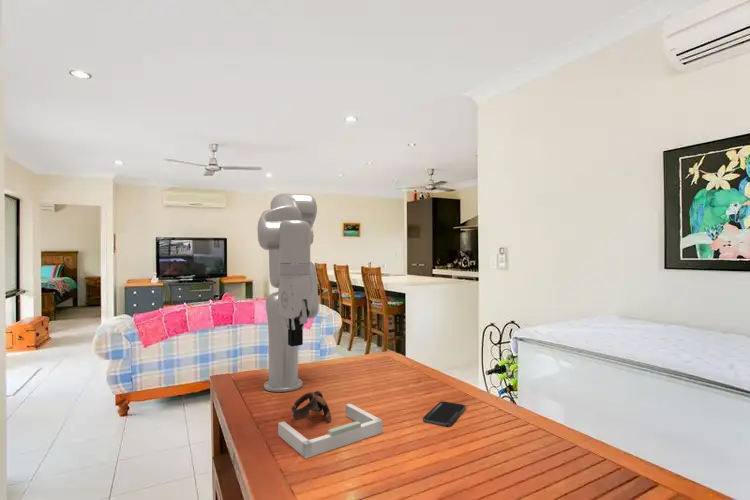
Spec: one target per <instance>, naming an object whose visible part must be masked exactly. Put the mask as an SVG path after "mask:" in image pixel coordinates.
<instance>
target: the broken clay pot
mask: <svg viewBox="0 0 750 500" xmlns="http://www.w3.org/2000/svg"><path fill="white" fill-rule="evenodd" d="M305 401H309V402H308V403H306V405H305V404H304V406H302V407H300V406H301V404H303V403H304V402H305ZM299 407H300V408H299ZM298 408H299V409H298ZM290 409H291V412H292V419H293V420H295V421H299V420H302V419H304V418H306V419H310V411H311V412H315V413H317V412H319V413H320V412H321V411H322V412H323V416H325V418H326V419H327V421H326V422H327V423H328V424H330V423H331V421H332V415H331V411H330V408H329V405H328V403H327V401H326V400H325V399H324V396H323V394H322V392H321V391H317V390H316V391H314V392H313V391H310V392H306V393H304V394H302V395H301V396H300V397H299V398H297V400H295V401H294V405H292V407H291V408H290Z"/></svg>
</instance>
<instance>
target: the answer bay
mask: <svg viewBox="0 0 750 500" xmlns="http://www.w3.org/2000/svg"><path fill="white" fill-rule="evenodd" d="M345 417H348V418H349V419H350V420H352V421H353V422H349V423H346V424H343V425H340V426H336V427H333V428H330V429H328V430H327V434H325V435H322V436H318V437H314V438H312V439H308V438H306V437H305V436H304V435H302V433H300V432H299V431H297V430H296V429H295V428H293V427H292V426H291V425H289V424H288V423H287V422H286V421H285V420H284V421H281V422H278V424H277V425H278V427H277V428H278V430H277V433H278V437H280V438H281V439H282V440H283V441H285V443H287V444H288V445H289V446H290V447H292V449H293V450H294V451H295V452H297V453H299V454H300V455H301V456H302V457H303V458H304V459H305V460H306V459H308V458H312V457H314V456H317V455H321V454H323V453H326V452H329V451H332V450H336V449H338V448H341V447H345V446H348V445H350V444H353V443H356V442H359V441H363V440H366V439H368V438H370V437H373V436H377V435H380V434H383V433H384V432H383V431H384V429H383V428H384V427H383V423H384V422H383V419H381V418H379V417H376V416H375V415H373V414H371V413H370V412H367V411H366V410H364V409H362V408H360V407H359V406H355V404H352V403H346V404H345Z"/></svg>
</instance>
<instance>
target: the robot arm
mask: <svg viewBox="0 0 750 500" xmlns="http://www.w3.org/2000/svg"><path fill="white" fill-rule="evenodd" d="M317 214H318V204H317V201H316V199H315V198H314V197H313V196H312V195H311V194H307V193H280V194H277V195H275V196H274V197H273V198H272V199H271V201H270V209H267V210H264V211H263V212H262V213H261V214H260V217H259V218H258V221H257V241H258V245H259V247H261V248H262V249H263V250H266V251H268V267H269V268H268V270H269V273H268V274H269V282H270V285H271V286H272V288H275V289H276V288H277V290H278V291H277V292H272V293H270V294H268V296H267V297H266V299H265V312H266V318H267V330H268V332H267V333H268V380H267V381H266V382H264V384H263V389H264V390H266V391H268V392H274V393H286V392H291V391H296V390H298V389H300V388H301V387H302V386H303V383H304V382H303V380H302V379H301V378H299V366H298V365H299V361H298V359H299V358H298V357H299V355H298V352H299V351H298V350H299V349H298V348H299V346H302V345H303V344H304V339H303V338H304V337H303V335H304V331H303V329H304V326H305V324H306V325H307V323H308V320H311V319H314V318H316V317H317V316H318V315H319V314H318V313H319V290H318V288H319V287H318V274H317V269H316V266H315V263H313V262H312V261H311V245H312V244H313V242H314V238H315V237H314V229H313V227H314V223H315V221H316V218H317Z"/></svg>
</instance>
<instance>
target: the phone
mask: <svg viewBox="0 0 750 500" xmlns="http://www.w3.org/2000/svg"><path fill="white" fill-rule="evenodd" d="M466 410H467V406H466V405H465V404H461V403H456V402H450V401H443V400H442V401H439V402H438V403H437V404H436V405H435V406H434V407H433V408H432V409H431V410H429V412H427V413H426V414H425V415H424V416H423V417H422V422H423V423H425V424H430V425H434V426H440V427H444V428H450V427H452V426H453V425H454V424H455V423H456V421H457V420H458V419H459V418H460V417H461V416H462V414H463V413H464V412H466Z"/></svg>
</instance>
